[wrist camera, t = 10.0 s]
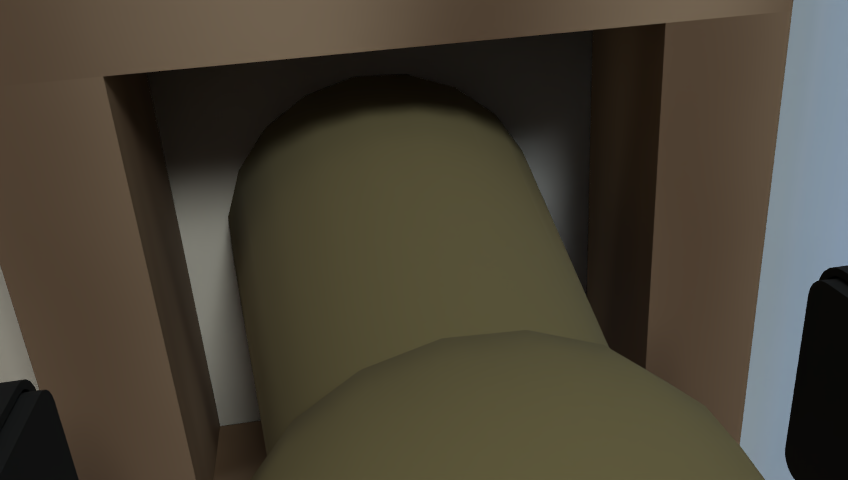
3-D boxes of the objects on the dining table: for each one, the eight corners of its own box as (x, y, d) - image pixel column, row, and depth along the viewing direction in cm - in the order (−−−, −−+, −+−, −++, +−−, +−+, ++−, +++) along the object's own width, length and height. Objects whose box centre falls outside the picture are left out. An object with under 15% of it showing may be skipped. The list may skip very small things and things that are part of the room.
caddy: (705, -130, 14) (823, -138, 11) (664, 430, 19) (738, 532, 16) (-768, -25, 11) (-1159, 2, 8) (-367, 597, 16) (-518, 759, 13)
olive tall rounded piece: (507, 365, 17) (813, 1013, 7) (222, 355, 16) (112, 1116, 6) (563, 90, 15) (1124, 482, 5) (235, 55, 14) (95, 479, 4)
